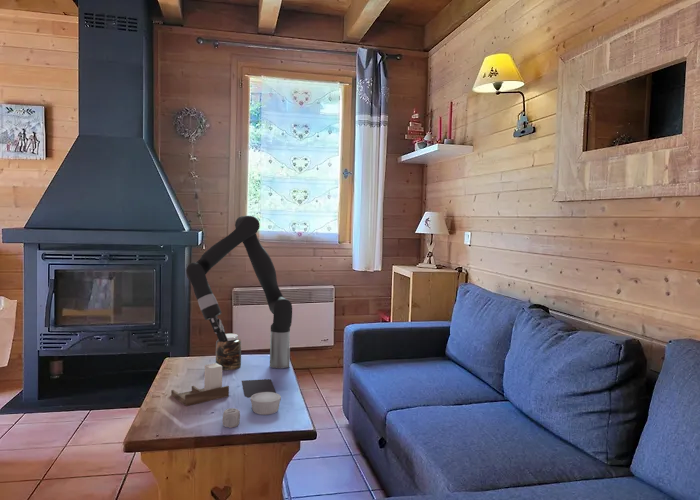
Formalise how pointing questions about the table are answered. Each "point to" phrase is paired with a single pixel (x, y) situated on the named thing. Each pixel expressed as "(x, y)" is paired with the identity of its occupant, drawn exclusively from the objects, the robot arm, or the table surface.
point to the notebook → (257, 387)
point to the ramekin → (265, 403)
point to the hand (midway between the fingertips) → (224, 341)
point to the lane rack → (200, 395)
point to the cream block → (213, 376)
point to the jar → (229, 352)
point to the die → (231, 417)
